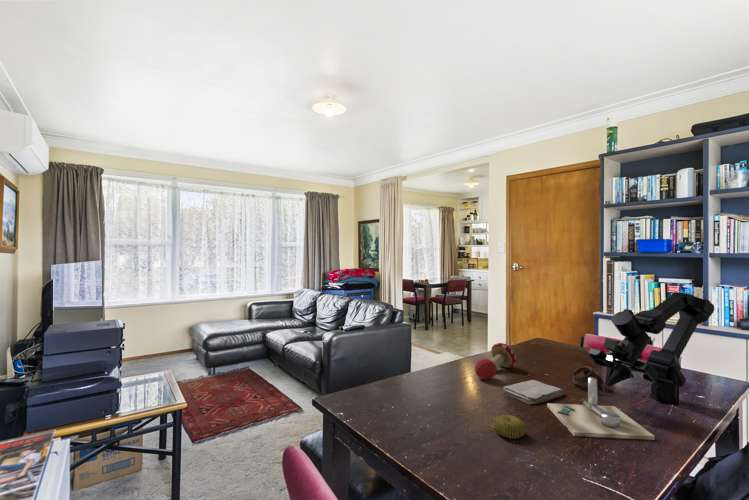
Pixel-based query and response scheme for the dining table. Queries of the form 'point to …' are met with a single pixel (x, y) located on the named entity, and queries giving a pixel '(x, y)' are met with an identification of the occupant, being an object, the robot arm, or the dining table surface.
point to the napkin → (597, 422)
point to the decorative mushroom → (503, 355)
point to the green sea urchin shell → (509, 426)
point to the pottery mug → (588, 373)
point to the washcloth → (532, 391)
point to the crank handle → (591, 402)
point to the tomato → (485, 369)
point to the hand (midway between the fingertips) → (606, 385)
